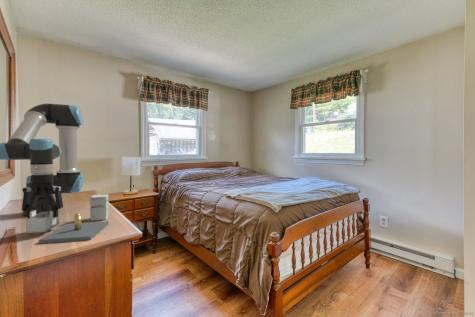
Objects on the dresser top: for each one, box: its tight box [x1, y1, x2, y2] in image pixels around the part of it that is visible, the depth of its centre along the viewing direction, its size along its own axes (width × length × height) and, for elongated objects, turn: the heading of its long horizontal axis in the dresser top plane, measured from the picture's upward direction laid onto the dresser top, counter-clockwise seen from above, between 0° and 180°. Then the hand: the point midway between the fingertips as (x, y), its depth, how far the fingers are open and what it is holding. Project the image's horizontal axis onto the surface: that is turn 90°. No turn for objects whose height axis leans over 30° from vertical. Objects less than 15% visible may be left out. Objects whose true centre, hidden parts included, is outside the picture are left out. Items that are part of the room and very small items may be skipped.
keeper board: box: [38, 220, 109, 244], centre depth 97 cm, size 20×18×2 cm
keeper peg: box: [73, 213, 82, 230], centre depth 96 cm, size 2×2×7 cm
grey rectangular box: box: [25, 210, 60, 234], centre depth 97 cm, size 10×7×6 cm
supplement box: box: [89, 194, 109, 222], centre depth 117 cm, size 7×7×13 cm
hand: (43, 225), depth 97 cm, fingers closed on grey rectangular box, 7 cm apart
